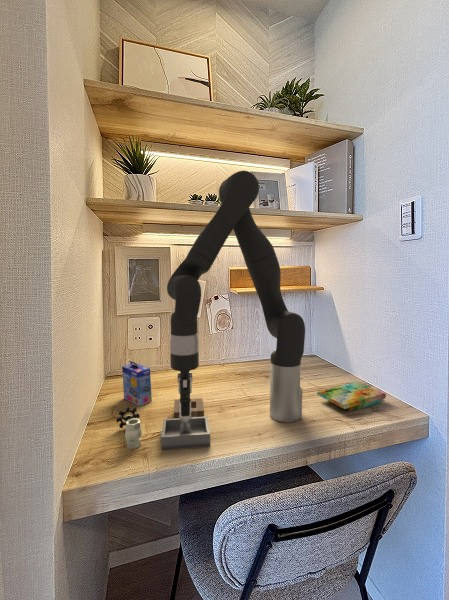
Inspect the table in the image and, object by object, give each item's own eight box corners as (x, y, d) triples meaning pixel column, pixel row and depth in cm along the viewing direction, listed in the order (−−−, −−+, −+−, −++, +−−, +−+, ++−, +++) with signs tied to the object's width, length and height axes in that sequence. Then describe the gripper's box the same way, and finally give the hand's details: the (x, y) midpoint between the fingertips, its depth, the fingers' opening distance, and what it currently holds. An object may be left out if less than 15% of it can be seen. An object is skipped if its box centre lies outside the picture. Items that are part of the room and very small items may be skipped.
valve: (148, 446, 81) (139, 425, 92) (147, 422, 80) (138, 404, 91) (121, 452, 78) (116, 430, 89) (120, 428, 77) (115, 408, 88)
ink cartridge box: (122, 399, 110) (120, 359, 108) (135, 394, 114) (134, 356, 113) (138, 407, 104) (137, 365, 102) (152, 401, 108) (151, 361, 106)
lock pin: (191, 431, 86) (190, 397, 85) (191, 437, 83) (191, 401, 82) (179, 432, 86) (179, 397, 85) (179, 438, 83) (178, 402, 81)
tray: (207, 427, 90) (207, 416, 90) (210, 446, 80) (210, 433, 80) (163, 430, 88) (163, 419, 88) (161, 450, 79) (161, 437, 78)
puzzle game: (386, 391, 105) (343, 402, 97) (385, 404, 106) (342, 416, 97) (358, 380, 116) (317, 389, 107) (357, 392, 116) (316, 402, 108)
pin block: (202, 409, 101) (202, 398, 101) (204, 423, 92) (204, 410, 92) (174, 411, 100) (174, 399, 100) (173, 425, 91) (173, 412, 91)
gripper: (199, 357, 75) (200, 420, 77) (197, 343, 89) (198, 396, 91) (168, 358, 74) (170, 422, 76) (171, 344, 88) (172, 398, 90)
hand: (185, 408), depth 84 cm, fingers open, 8 cm apart
